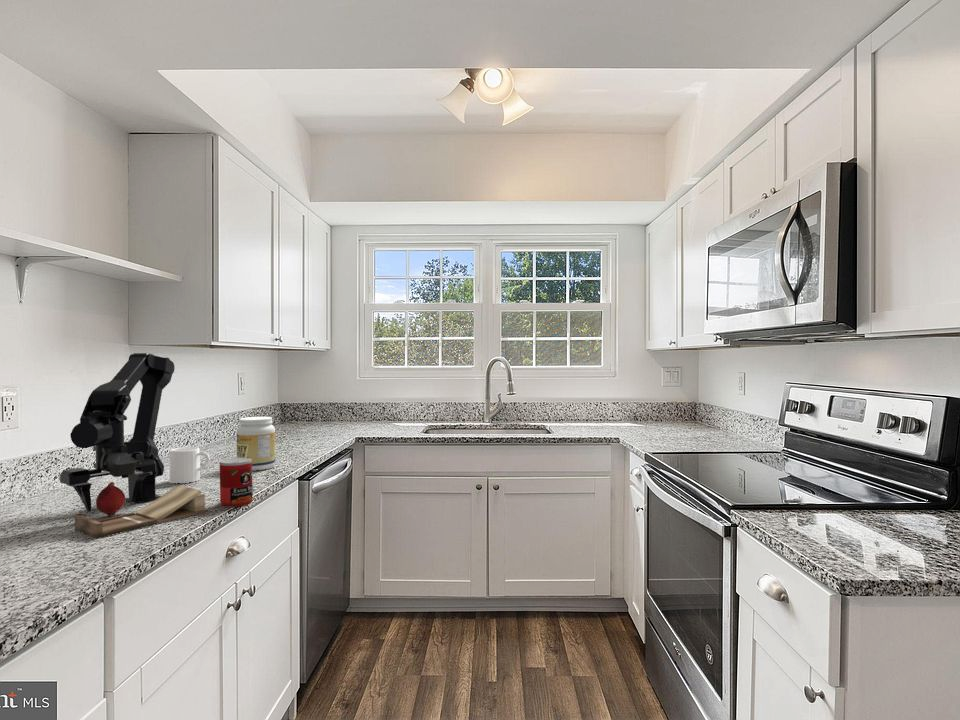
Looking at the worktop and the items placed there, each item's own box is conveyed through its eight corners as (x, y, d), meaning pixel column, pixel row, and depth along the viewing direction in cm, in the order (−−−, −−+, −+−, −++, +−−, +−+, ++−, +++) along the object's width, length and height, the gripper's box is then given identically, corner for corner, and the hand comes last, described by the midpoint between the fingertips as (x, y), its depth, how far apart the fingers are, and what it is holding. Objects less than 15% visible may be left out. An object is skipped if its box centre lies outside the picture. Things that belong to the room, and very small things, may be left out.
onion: (111, 519, 132) (110, 485, 132) (90, 518, 133) (89, 484, 133) (131, 513, 137) (130, 480, 137) (111, 512, 138) (110, 479, 138)
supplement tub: (230, 468, 191) (229, 418, 191) (263, 463, 201) (263, 415, 201) (248, 473, 183) (247, 420, 183) (282, 467, 193) (281, 417, 193)
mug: (202, 484, 168) (202, 451, 168) (164, 484, 169) (163, 451, 169) (217, 478, 176) (216, 446, 176) (180, 478, 177) (179, 446, 177)
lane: (74, 530, 124) (74, 516, 124) (180, 506, 143) (179, 494, 143) (97, 538, 118) (97, 524, 118) (204, 512, 137) (203, 500, 137)
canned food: (232, 508, 140) (232, 464, 140) (213, 504, 144) (212, 461, 144) (259, 501, 147) (258, 459, 147) (240, 498, 151) (239, 456, 151)
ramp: (135, 516, 134) (135, 493, 134) (183, 506, 143) (182, 484, 143) (157, 523, 128) (157, 499, 128) (205, 511, 138) (204, 489, 138)
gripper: (79, 450, 123) (80, 522, 123) (167, 438, 138) (168, 503, 138) (58, 445, 129) (59, 514, 129) (144, 435, 144) (145, 497, 145)
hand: (111, 507), depth 135 cm, fingers open, 9 cm apart
